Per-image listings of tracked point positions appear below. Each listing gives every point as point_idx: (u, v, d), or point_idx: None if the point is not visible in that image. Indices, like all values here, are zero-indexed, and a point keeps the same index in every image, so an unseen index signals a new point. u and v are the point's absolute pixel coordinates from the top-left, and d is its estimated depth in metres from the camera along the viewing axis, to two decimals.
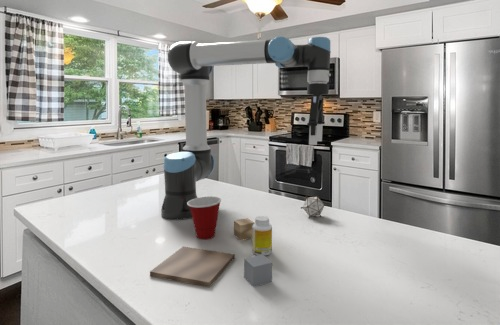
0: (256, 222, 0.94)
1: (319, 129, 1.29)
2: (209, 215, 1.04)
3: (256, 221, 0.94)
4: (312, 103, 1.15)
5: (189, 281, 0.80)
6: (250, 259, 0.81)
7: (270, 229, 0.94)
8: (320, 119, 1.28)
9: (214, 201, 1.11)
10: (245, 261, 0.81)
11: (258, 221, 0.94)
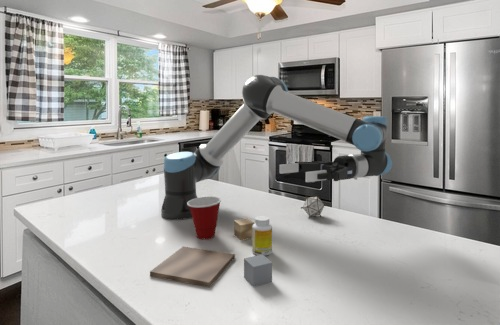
0: (256, 222, 0.94)
1: (293, 169, 1.05)
2: (209, 215, 1.04)
3: (256, 221, 0.94)
4: (347, 170, 0.97)
5: (189, 281, 0.80)
6: (249, 259, 0.81)
7: (270, 229, 0.94)
8: (304, 169, 1.06)
9: (214, 201, 1.11)
10: (245, 261, 0.81)
11: (258, 221, 0.94)
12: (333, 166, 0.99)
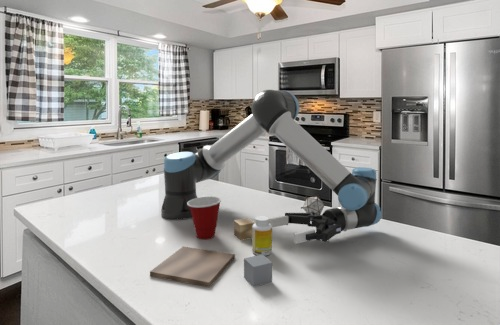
0: (256, 222, 0.94)
1: (283, 222, 1.06)
2: (209, 215, 1.04)
3: (256, 221, 0.94)
4: (336, 228, 0.98)
5: (189, 281, 0.80)
6: (250, 259, 0.81)
7: (270, 229, 0.94)
8: (294, 221, 1.07)
9: (214, 201, 1.11)
10: (245, 261, 0.81)
11: (258, 221, 0.94)
12: (322, 223, 1.00)
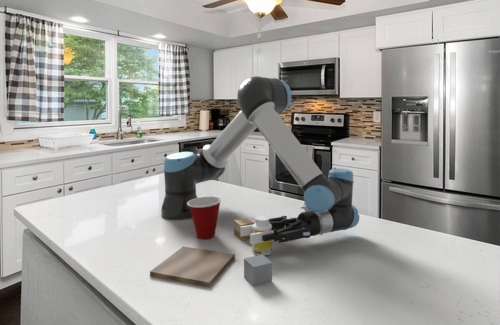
0: (256, 222, 0.94)
1: None
2: (209, 215, 1.04)
3: (256, 221, 0.94)
4: (302, 231, 0.94)
5: (189, 281, 0.80)
6: (250, 259, 0.81)
7: (270, 229, 0.94)
8: None
9: (214, 201, 1.11)
10: (245, 261, 0.81)
11: (258, 221, 0.94)
12: (290, 225, 0.97)
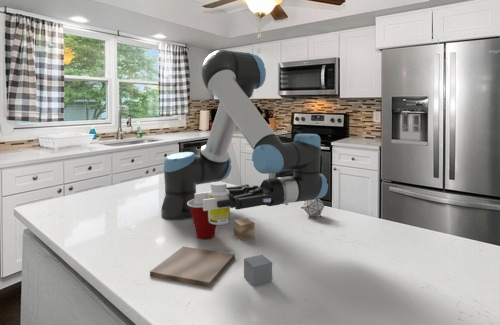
0: (211, 187, 0.85)
1: None
2: None
3: (211, 186, 0.85)
4: (262, 198, 0.85)
5: (189, 281, 0.80)
6: (249, 259, 0.81)
7: (227, 195, 0.85)
8: None
9: None
10: (245, 261, 0.81)
11: (213, 186, 0.85)
12: (250, 192, 0.88)
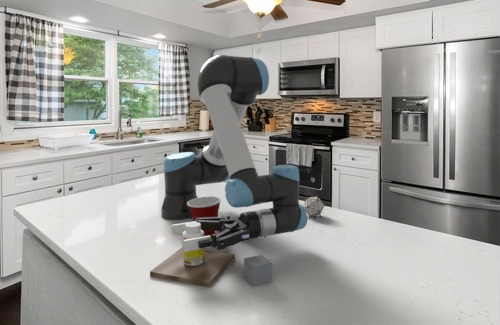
0: (185, 229, 0.85)
1: None
2: (209, 215, 1.04)
3: (185, 228, 0.85)
4: (241, 234, 0.85)
5: (189, 281, 0.80)
6: (249, 259, 0.81)
7: None
8: (203, 228, 0.93)
9: (214, 201, 1.11)
10: (245, 261, 0.81)
11: (187, 228, 0.85)
12: (228, 228, 0.87)
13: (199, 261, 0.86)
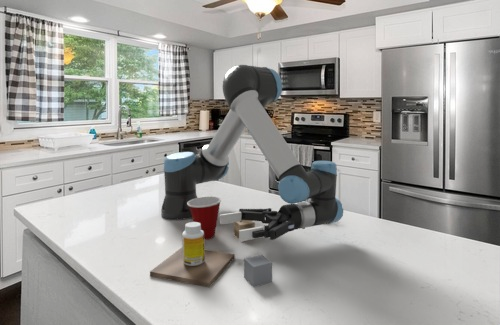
0: (185, 229, 0.86)
1: (235, 218, 0.99)
2: (209, 215, 1.04)
3: (185, 228, 0.85)
4: (288, 225, 0.91)
5: (189, 281, 0.80)
6: (249, 259, 0.81)
7: (201, 237, 0.85)
8: (247, 218, 1.00)
9: (214, 201, 1.11)
10: (245, 261, 0.81)
11: (187, 228, 0.85)
12: (274, 219, 0.93)
13: (199, 261, 0.86)
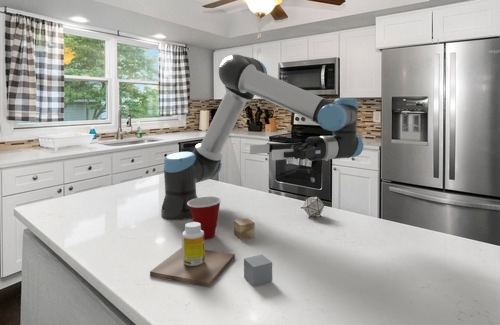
0: (185, 229, 0.86)
1: (263, 150, 1.06)
2: (209, 215, 1.04)
3: (185, 228, 0.85)
4: (315, 150, 0.98)
5: (189, 281, 0.80)
6: (249, 259, 0.81)
7: (201, 237, 0.85)
8: (275, 150, 1.07)
9: (214, 201, 1.11)
10: (245, 261, 0.81)
11: (187, 228, 0.85)
12: (302, 146, 1.00)
13: (199, 261, 0.86)
